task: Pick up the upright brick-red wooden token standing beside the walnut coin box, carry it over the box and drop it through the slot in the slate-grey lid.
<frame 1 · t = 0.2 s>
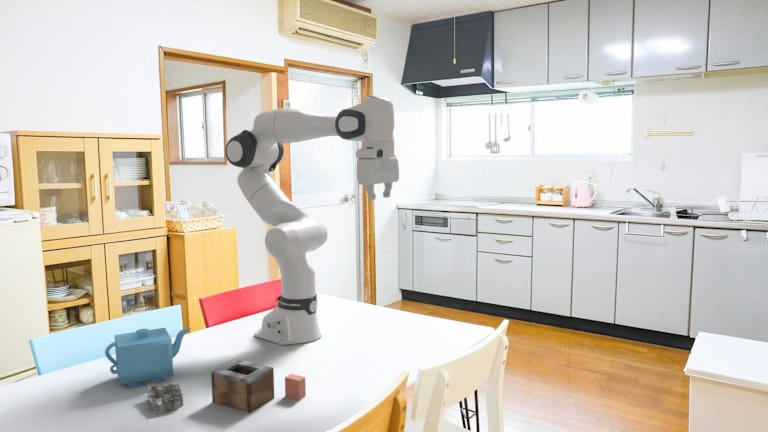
hand: (379, 198, 165), 48 cm above the table, fingers open, 8 cm apart
token: (295, 396, 140), on the table
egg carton: (166, 404, 136), on the table
coin box: (243, 400, 138), on the table
teapot: (151, 378, 152), on the table
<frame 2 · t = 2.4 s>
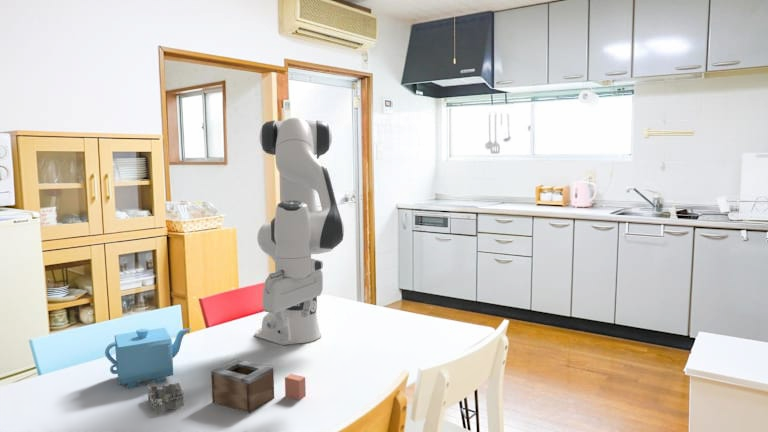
hand: (294, 321, 138), 19 cm above the table, fingers open, 8 cm apart
nothing on the table moved.
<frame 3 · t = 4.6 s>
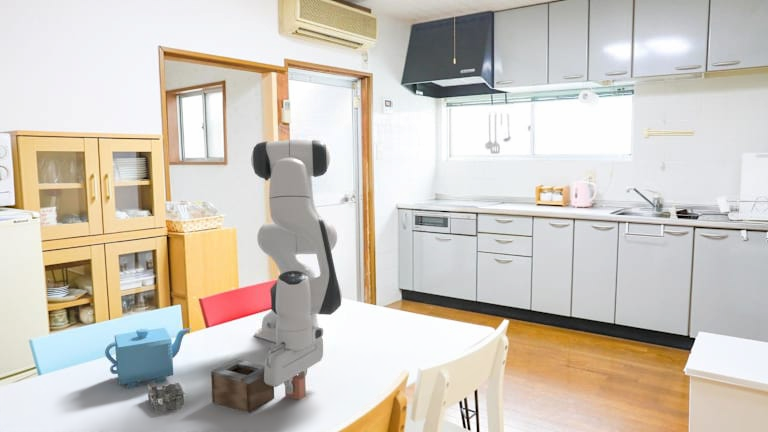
hand: (295, 389, 140), 2 cm above the table, fingers closed on token, 3 cm apart
token: (295, 396, 140), on the table, touching gripper
everything else where it was.
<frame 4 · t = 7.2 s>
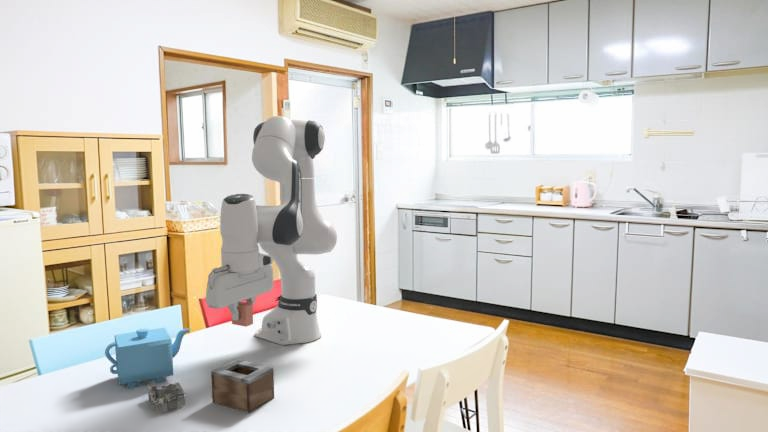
hand: (242, 317, 135), 21 cm above the table, fingers closed on token, 2 cm apart
token: (242, 323, 135), point 20 cm above the table, touching gripper
everything else where it was.
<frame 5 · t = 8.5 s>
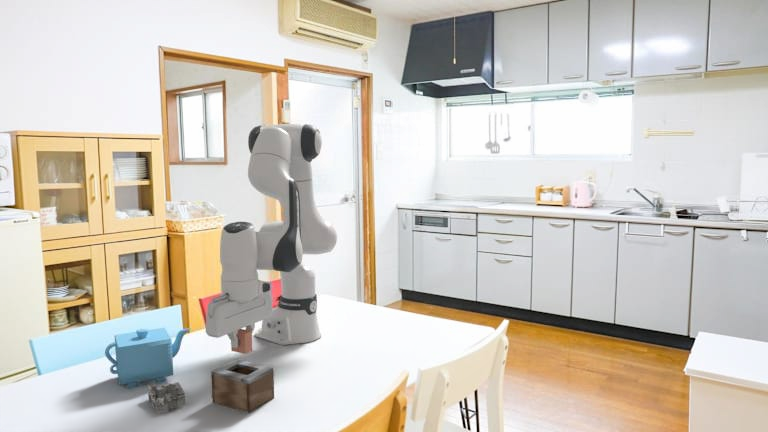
hand: (241, 344, 136), 14 cm above the table, fingers closed on token, 2 cm apart
token: (241, 350, 136), point 13 cm above the table, touching gripper
everything else where it was.
when the fingers open (10 cm above the table, at t = 9.5 s): token drops 8 cm, resting on coin box.
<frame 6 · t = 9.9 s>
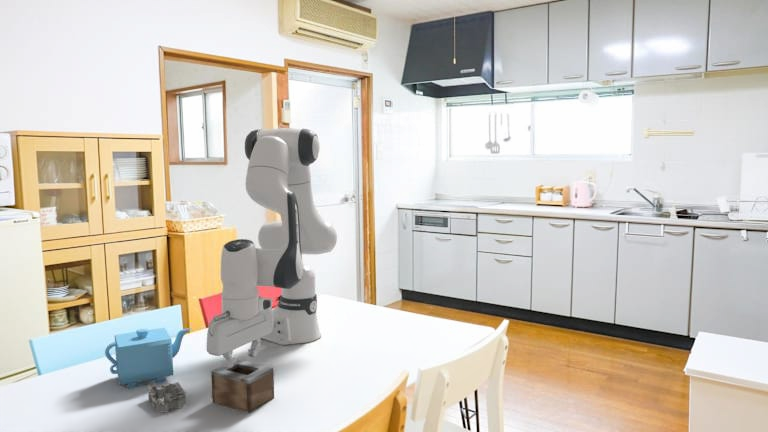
hand: (242, 361, 137), 10 cm above the table, fingers open, 6 cm apart
token: (243, 398, 138), resting on coin box
everything else where it was.
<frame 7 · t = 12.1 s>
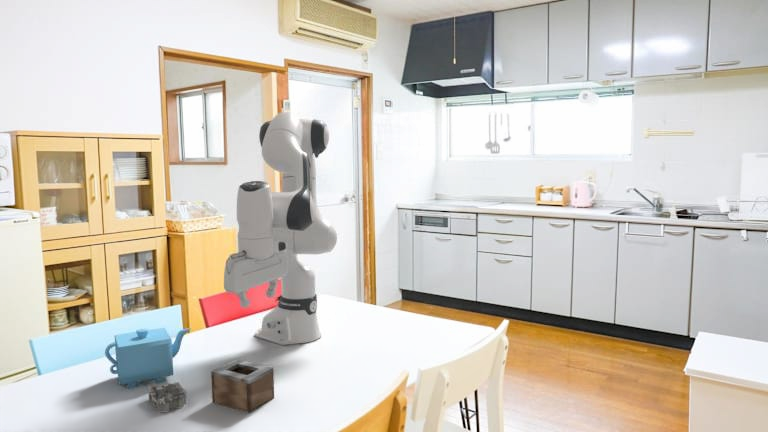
hand: (258, 301, 139), 24 cm above the table, fingers open, 8 cm apart
nothing on the table moved.
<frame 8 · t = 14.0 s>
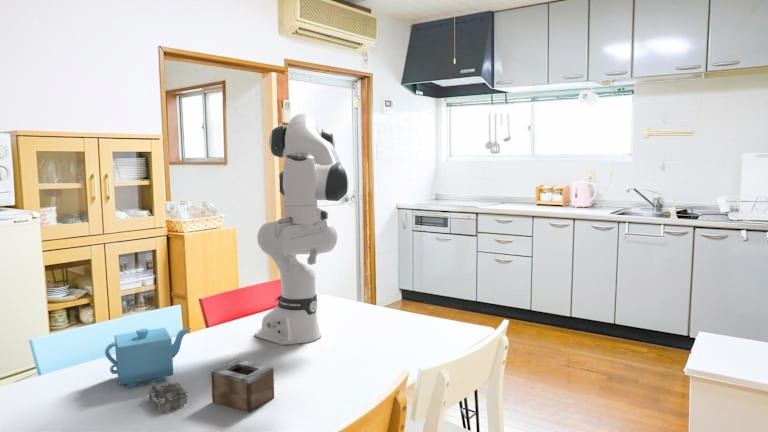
hand: (301, 267, 146), 31 cm above the table, fingers open, 8 cm apart
nothing on the table moved.
at the end: token inside the target area on the coin box (0.1 cm from its centre), point 0.5 cm above the coin box's base; the gripper is holding nothing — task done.
